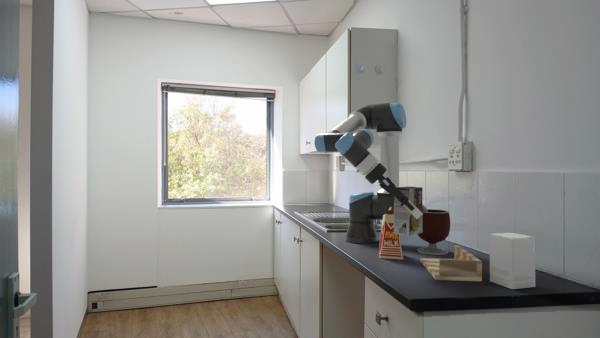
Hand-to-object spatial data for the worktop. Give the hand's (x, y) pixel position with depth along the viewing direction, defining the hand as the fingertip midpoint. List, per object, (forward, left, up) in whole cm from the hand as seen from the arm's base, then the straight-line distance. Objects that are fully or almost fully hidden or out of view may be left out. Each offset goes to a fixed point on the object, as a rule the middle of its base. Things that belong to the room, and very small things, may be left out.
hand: (416, 214), depth 133 cm
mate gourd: (-29, +11, -19) cm, 37 cm away
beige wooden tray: (+1, +10, -19) cm, 22 cm away
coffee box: (0, -3, -7) cm, 7 cm away
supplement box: (+15, +25, -19) cm, 35 cm away
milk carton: (-18, -7, -19) cm, 27 cm away
